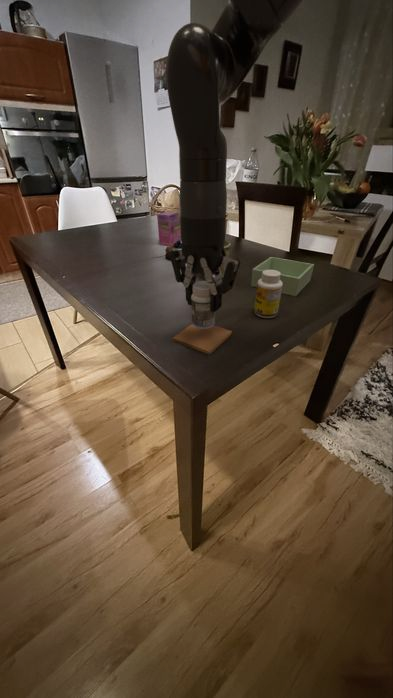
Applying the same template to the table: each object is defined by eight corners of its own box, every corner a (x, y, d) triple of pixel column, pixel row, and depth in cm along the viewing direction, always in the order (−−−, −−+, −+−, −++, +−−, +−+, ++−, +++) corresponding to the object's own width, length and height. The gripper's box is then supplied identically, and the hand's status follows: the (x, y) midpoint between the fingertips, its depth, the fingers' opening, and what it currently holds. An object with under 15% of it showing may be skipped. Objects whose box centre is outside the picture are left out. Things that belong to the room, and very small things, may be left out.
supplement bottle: (251, 308, 70) (256, 268, 64) (274, 308, 70) (280, 267, 64) (256, 319, 65) (261, 277, 60) (280, 319, 66) (287, 276, 60)
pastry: (186, 264, 97) (185, 247, 94) (161, 258, 103) (159, 242, 100) (205, 256, 104) (205, 240, 101) (180, 251, 110) (179, 235, 107)
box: (171, 246, 116) (168, 214, 110) (159, 244, 118) (156, 214, 112) (182, 240, 124) (181, 210, 117) (171, 238, 126) (169, 209, 119)
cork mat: (231, 334, 61) (232, 331, 60) (209, 355, 55) (209, 351, 54) (197, 322, 65) (197, 319, 64) (173, 340, 59) (172, 337, 58)
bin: (310, 280, 84) (314, 264, 81) (295, 296, 75) (299, 278, 72) (268, 272, 90) (270, 256, 87) (250, 286, 82) (252, 269, 79)
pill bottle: (193, 317, 60) (192, 279, 55) (215, 318, 59) (216, 280, 54) (190, 328, 56) (188, 289, 51) (213, 330, 55) (214, 290, 51)
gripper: (253, 212, 45) (244, 308, 55) (181, 205, 51) (185, 292, 61) (230, 221, 40) (225, 325, 50) (154, 211, 46) (163, 305, 56)
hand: (203, 306), depth 55 cm, fingers closed on pill bottle, 4 cm apart
